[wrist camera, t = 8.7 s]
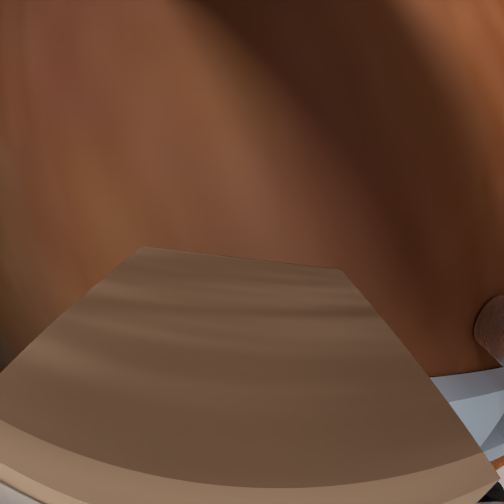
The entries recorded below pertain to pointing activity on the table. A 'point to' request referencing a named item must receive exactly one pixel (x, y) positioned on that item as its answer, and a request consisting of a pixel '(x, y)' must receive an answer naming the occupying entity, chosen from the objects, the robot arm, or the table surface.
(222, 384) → the wooden box
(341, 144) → the table surface
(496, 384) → the board
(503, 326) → the peg
